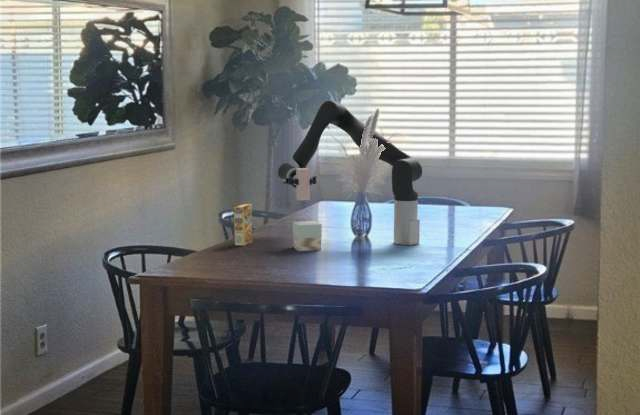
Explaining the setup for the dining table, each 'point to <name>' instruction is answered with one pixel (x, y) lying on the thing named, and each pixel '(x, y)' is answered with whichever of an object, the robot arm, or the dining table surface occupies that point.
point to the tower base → (307, 244)
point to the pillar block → (303, 184)
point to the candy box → (243, 224)
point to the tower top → (307, 229)
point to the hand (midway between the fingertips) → (304, 182)
